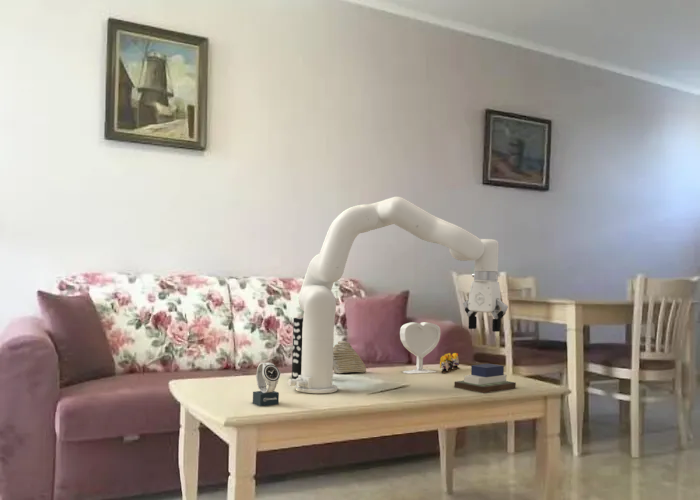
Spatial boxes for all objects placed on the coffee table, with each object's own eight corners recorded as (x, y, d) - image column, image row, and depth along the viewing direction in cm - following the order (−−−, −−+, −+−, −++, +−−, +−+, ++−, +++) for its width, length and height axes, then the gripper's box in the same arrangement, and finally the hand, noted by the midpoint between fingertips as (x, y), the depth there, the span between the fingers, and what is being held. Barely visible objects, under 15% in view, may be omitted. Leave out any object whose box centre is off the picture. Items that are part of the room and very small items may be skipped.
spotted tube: (315, 380, 222) (317, 319, 223) (290, 379, 222) (292, 319, 223) (317, 376, 231) (319, 317, 231) (293, 375, 231) (294, 317, 231)
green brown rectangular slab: (484, 393, 207) (484, 386, 207) (454, 387, 217) (454, 380, 217) (515, 388, 218) (515, 381, 218) (486, 382, 227) (486, 376, 227)
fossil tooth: (367, 376, 241) (328, 374, 235) (360, 373, 247) (322, 370, 241) (371, 344, 241) (332, 341, 235) (364, 342, 247) (326, 338, 241)
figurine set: (436, 372, 246) (436, 354, 246) (452, 367, 260) (452, 350, 261) (445, 373, 245) (445, 355, 245) (461, 368, 259) (461, 351, 259)
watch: (263, 407, 177) (265, 365, 178) (249, 402, 184) (250, 361, 184) (282, 405, 181) (283, 364, 181) (267, 400, 187) (269, 360, 188)
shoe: (491, 378, 224) (491, 363, 224) (506, 380, 219) (506, 365, 219) (463, 382, 215) (464, 366, 215) (478, 384, 210) (479, 368, 210)
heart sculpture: (404, 373, 242) (406, 323, 243) (397, 371, 246) (398, 322, 247) (441, 371, 249) (442, 322, 250) (433, 369, 253) (434, 321, 254)
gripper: (457, 276, 223) (456, 328, 223) (500, 277, 210) (498, 333, 209) (472, 276, 228) (470, 327, 227) (515, 278, 215) (513, 332, 214)
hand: (484, 330), depth 218 cm, fingers open, 9 cm apart
